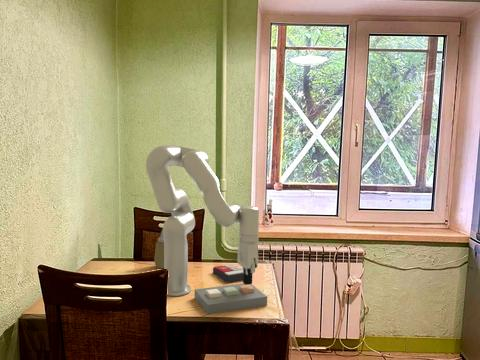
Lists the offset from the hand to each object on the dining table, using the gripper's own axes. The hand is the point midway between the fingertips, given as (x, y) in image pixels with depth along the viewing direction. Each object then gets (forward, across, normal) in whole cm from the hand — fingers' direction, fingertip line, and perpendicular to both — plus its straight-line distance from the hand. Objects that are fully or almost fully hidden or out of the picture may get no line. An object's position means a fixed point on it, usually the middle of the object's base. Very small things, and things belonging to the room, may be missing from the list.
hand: (247, 283), depth 162 cm
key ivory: (+4, 0, -14) cm, 15 cm away
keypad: (+6, 0, -7) cm, 10 cm away
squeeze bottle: (+6, -50, -22) cm, 55 cm away
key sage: (+4, 0, -7) cm, 8 cm away
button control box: (+7, -28, +4) cm, 29 cm away
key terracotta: (+4, 0, 0) cm, 4 cm away
